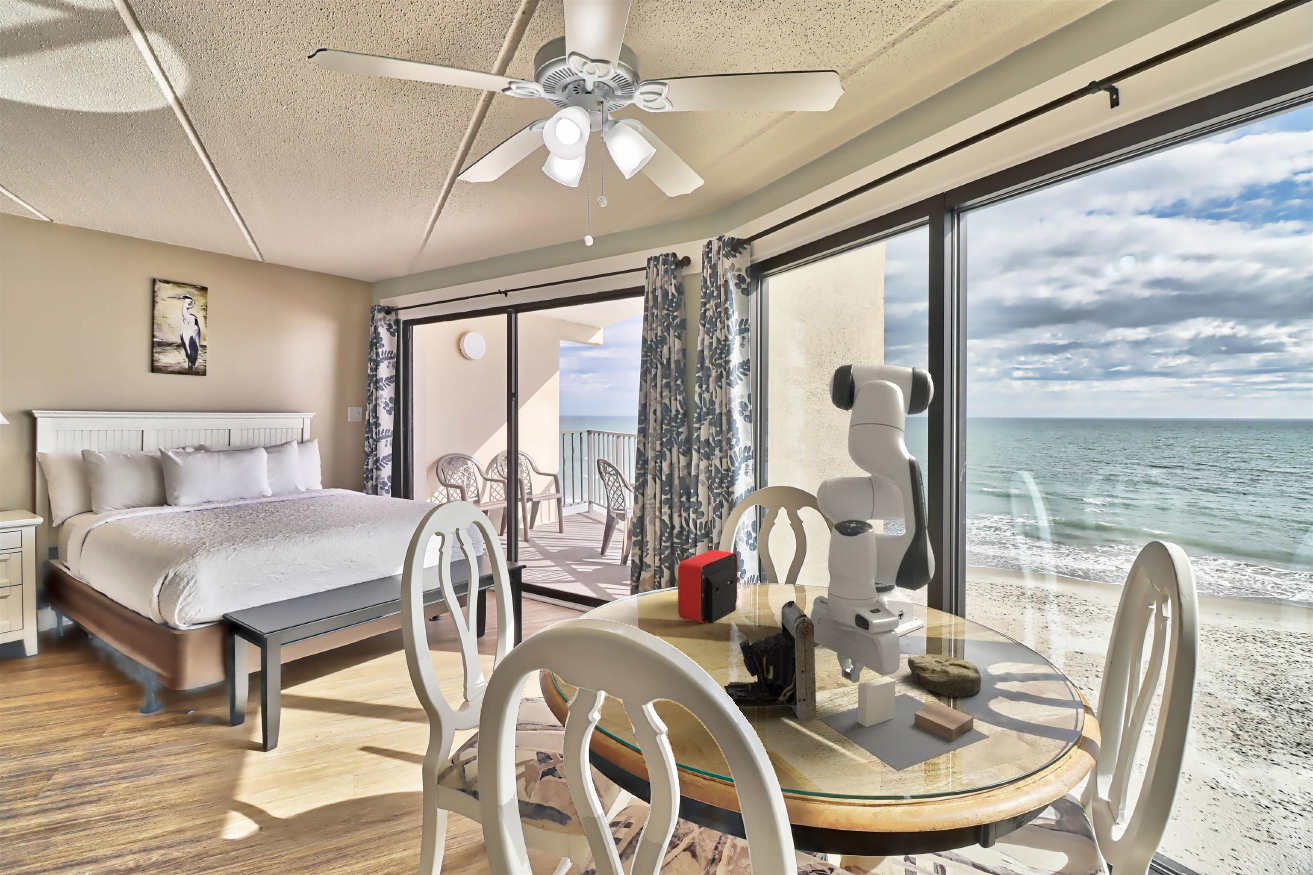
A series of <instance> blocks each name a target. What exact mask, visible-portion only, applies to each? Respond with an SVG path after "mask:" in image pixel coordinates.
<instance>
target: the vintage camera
mask: <svg viewBox="0 0 1313 875" xmlns="http://www.w3.org/2000/svg"><path fill="white" fill-rule="evenodd" d="M781 607H782V608H781V612H780V614H781V615H780V616H781V620H780V621H781V633H780V632H779V633H776V634H775V635H772V636H766V637H764V638H763V639H756V641H755V642H752V643H750V642H751V641H749V639H746V640H744V641H742V642H739V648H740V652H741V654H742V657H743V659H742V660H743V663H744V666H745V668H746V670H747V672H748V673H749V674H750V677H752V678H755V677H756V679H757V680H754V681H751V682H749V681H748V682H744V681H729V683H727V685H723V688H724V690H725V692H727V693H726V695H727V694H728V695H729V696H730V697H731V698H732V699H733V701H734V702H735V704H736V705H737V706H738V707H737V708H751V707H752V708H757V707H758V708H759V707H760V708H762V707H763V708H767V707H786V706H787V707H788V706H789V707H791V708H792V710H793V712H794V713H795V714H796V716H797V718H798V719H799V720H800V721H807V720H809V721H810V720H814V719H815V717H816V715H817V692H816V691H817V690H816V688H817V685H816V682H817V681H816V656H815V655H816V653H815V652H816V651H815V642H814V625H813V622H812V621H811V620H810V617H809V616H808V615H807V614H806V613H804V611H803V610H802V609H801V608H800V607H799V605H798V604H797V603H795V601H794V600H789V601H788V602H786V603H784V604H783V606H781ZM728 695H727V696H728Z"/></svg>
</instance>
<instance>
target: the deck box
mask: <svg viewBox="0 0 1313 875" xmlns="http://www.w3.org/2000/svg"><path fill="white" fill-rule="evenodd" d="M857 689H858V690H857V707H858V722H859V723H860V724H862V725H864V726H865V727H868V726H871V725H874V724H877V723H880V722H883V721H887V720H890V719H893V718H895V696H896V680H895V679H893V678H891V677H889V676H888V675H885V676H883V677H878V678H875V679H872V680H867V681H865V682H860V683H858V687H857Z"/></svg>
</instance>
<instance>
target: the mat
mask: <svg viewBox="0 0 1313 875" xmlns="http://www.w3.org/2000/svg"><path fill="white" fill-rule="evenodd" d="M929 705H930V704H929ZM929 705H928V704H927V703H926V702H923V701H921V700H919V699H917V698H915V697H913V696H911V695H910V694H908V693H902V694H899V695H895V718H893V719H890V720H887V721H883V722H880V723H877V724H874V725H871V726H868V727H865V726H864V725H862V724H860V723H859V722H858V706H856V707H855V708H851V709H848V710H843V711H841V712H838V713H834V714H831V715H826V716H824V717H821V718H819V720H820V721H821V722H823V723H825V725H828V726H829V727H831V729H833V730H834V731H836V732H838V733H839V734H841V735H842V736H845V738H847V739H849V741H851V742H853V743H855V744H856V745H857V746H859V747H860V748H862V749H864V750H866V751H867V752H868V753H870V754H871V755H873V756H874V757H876V758H877V759H879V760H880V761H882V762H883V763H885V764H886V765H889V767H891V768H892V769H894V770H895V771H897V772H899V771H902V770H904V769H908V768H910V767H912V766H915V765H918V764H922V763H923V762H926V761H929V760H931V759H933V758H937V757H939V756H942V755H944V754H945V755H946V754H948V753H950V752H953V751H956V750H958V749H961V748H964V747H967V746H969V745H972V744H975V743H977V742H980V741H983V740H985V739H988V738H990V736H989V735H987V734H986V733H984V732H982V731H980V730H978V729H976V728H974V727H973V729H971V730H969V731H968V732H966V733H965V734H963V735H962V736H960V737H958V738H957V739H955V740H954V741H952V740H949V739H947V738H945V737H943V736H940V735H938V734H936V733H934V732H931V731H929V730H927V729H925V728H922V727H920V726H918V725H915V724H914V722H915V713H916V712H918V711H920V710H921V709H923V708H925V707H927V706H929Z"/></svg>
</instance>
